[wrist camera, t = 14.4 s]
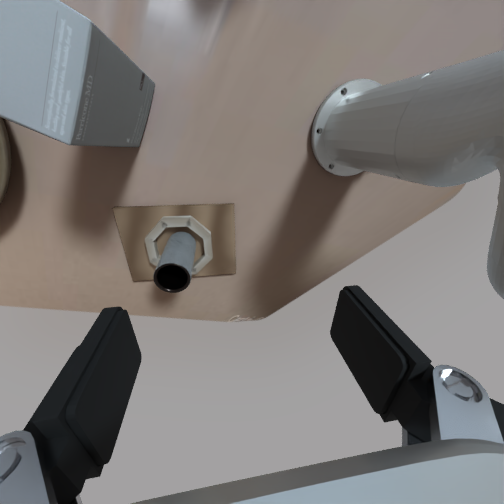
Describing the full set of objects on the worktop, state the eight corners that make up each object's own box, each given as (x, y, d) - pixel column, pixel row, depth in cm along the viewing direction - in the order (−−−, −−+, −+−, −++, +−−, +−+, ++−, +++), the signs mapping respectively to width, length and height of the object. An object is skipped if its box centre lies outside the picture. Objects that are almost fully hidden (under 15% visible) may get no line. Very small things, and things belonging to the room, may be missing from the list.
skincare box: (140, 147, 31) (80, 158, 17) (81, 120, 28) (-46, 106, 14) (158, 80, 28) (104, 25, 14) (93, 43, 25) (-51, -69, 11)
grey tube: (177, 259, 38) (165, 298, 29) (162, 237, 36) (145, 271, 27) (201, 249, 38) (197, 285, 29) (188, 226, 36) (179, 257, 27)
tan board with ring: (233, 203, 36) (235, 207, 34) (235, 271, 42) (236, 278, 40) (114, 207, 34) (107, 211, 31) (134, 278, 40) (130, 286, 37)
